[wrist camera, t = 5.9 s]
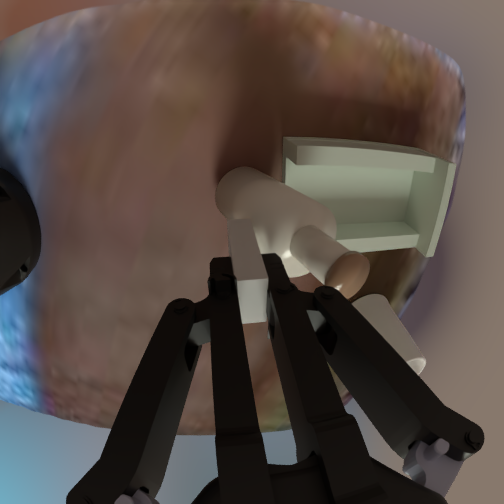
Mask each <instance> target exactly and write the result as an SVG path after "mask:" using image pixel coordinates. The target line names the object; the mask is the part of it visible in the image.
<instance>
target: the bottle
mask: <svg viewBox="0 0 504 504" xmlns="http://www.w3.org/2000/svg"><path fill="white" fill-rule="evenodd" d="M215 200H216V205H217V207H218V209H219V211H220V212H221V213H222V215H223V216H224V217H225V218H226V219H227V220H232V219H250V220H251V223H252V226H253V229H254V233H255V236H256V239H257V242H258V246H259V249H260V252H261V254H266V253H276V254H277V255H278V256H279V257H281V260H282V262H283V265H284V268H285V270H286V272H287V275H288V277H299V276H302V275H305V274H307V273H309V272H311V273H312V274H313V275H314V276H315V277H316V278H317V279H318V280H319V281H320V282H322V283H323V284H324V286H331V287H334V288H336V289H337V290H338V291H339V292H340V293H341V294H342V295H343V296H344V297H345V298H346V299H349V298H350V297H352V296H353V295H354V294H356V293H357V292H358V291H359V290H360V288H361V287H362V286H363V284H364V283H365V281H366V279H367V277H368V274H369V271H370V262H369V260H368V259H367V258H366V257H365V256H363V255H362V254H361V253H359V252H358V251H350V250H349V249H347V248H346V247H345V246H343V245H342V244H340V243H339V242H338V241H336V240H335V238H336V232H337V225H336V220H335V217H334V215H333V213H332V212H331V211H330V210H329V209H328V208H327V207H326V206H324V205H322V204H320V203H319V202H317V201H315V200H313V199H311V198H310V197H308V196H306V195H304V194H302V193H300V192H299V191H297V190H295V189H293V188H291V187H289V186H287V185H285V184H284V183H282V182H280V181H278V180H276V179H274V178H272V177H270V176H268V175H266V174H264V173H262V172H260V171H258V170H256V169H254V168H251V167H238V168H235V169H233V170H231V171H229V172H228V173H227V174H226V175H224V177H223V178H222V179H221V180H220V182H219V184H218V186H217V189H216V194H215Z"/></svg>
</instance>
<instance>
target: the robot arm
mask: <svg viewBox="0 0 504 504" xmlns="http://www.w3.org/2000/svg"><path fill="white" fill-rule="evenodd" d="M227 226H228V247H229V257H217V258H213V259H212V261H211V262H210V277H209V278H208V289H209V295H208V297H206V298H205V299H204V300H202V301H200V302H197V303H193V302H192V301H191V300H189V299H185V298H179V299H176V300H173V301H172V302H170V303H169V304H168V306H167V307H166V309H165V311H164V313H163V315H162V317H161V319H160V321H159V323H158V325H157V328H156V330H155V332H154V334H153V336H152V338H151V340H150V342H149V344H148V346H147V349H146V351H145V353H144V355H143V357H142V359H141V362H140V364H139V366H138V368H137V370H136V373H135V375H134V377H133V379H132V382H131V384H130V386H129V388H128V391H127V393H126V395H125V398H124V400H123V402H122V405H121V407H120V409H119V412H118V414H117V417H116V419H115V421H114V424H113V426H112V429H111V431H110V434H109V436H108V439H107V442H106V444H105V447H104V449H103V452H102V454H101V457H100V459H99V460H98V461H97V462H96V464H95V465H94V466H93V467H92V468H91V469H90V470H89V471H88V472H87V473H86V474H85V475H84V477H83V478H82V479H81V480H80V481H79V482H78V483H77V484H76V485H75V486H74V487H73V488H72V490H71V491H70V492H69V493H68V495H67V498H66V504H159V502H158V501H157V500H155V499H154V498H155V497H156V495H157V493H158V491H159V489H160V487H161V484H162V482H163V479H164V476H165V472H166V468H167V465H168V460H169V457H170V454H171V450H172V447H173V443H174V440H175V436H176V433H177V429H178V426H179V422H180V419H181V415H182V412H183V408H184V405H185V401H186V398H187V395H188V391H189V388H190V385H191V381H192V378H193V375H194V371H195V368H196V365H197V361H198V358H199V355H200V351H201V348H202V344H205V343H208V342H211V363H212V383H213V399H214V414H215V427H216V436H215V445H216V457H217V467H218V477H217V478H215V479H214V480H212V481H211V482H209V483H208V484H207V485H206V486H205V487H204V488H203V490H202V491H201V492H200V493H199V495H198V496H197V497H196V498H195V500H194V501H193V502H192V503H191V504H448V503H447V501H446V500H445V498H444V497H445V495H446V494H447V492H448V490H449V488H450V486H451V485H452V483H453V481H454V479H455V477H456V476H457V474H458V472H459V470H460V468H461V466H462V464H463V462H464V461H465V460H466V459H467V458H469V457H470V456H472V455H473V454H475V453H476V452H477V451H479V450H480V449H481V447H482V445H483V443H484V433H483V431H482V429H481V427H479V426H478V425H477V424H475V423H474V422H472V421H470V420H469V419H467V418H465V417H463V416H462V415H460V414H458V413H457V412H455V411H453V410H451V409H450V408H448V407H446V406H445V405H444V404H443V403H442V402H441V401H440V400H439V399H438V397H437V396H436V395H435V394H434V393H433V392H432V391H431V390H430V388H429V387H428V386H427V385H426V384H425V383H424V381H423V380H422V379H421V378H420V377H419V376H418V375H417V374H416V372H415V371H414V370H413V369H412V368H411V367H410V366H409V365H408V364H407V362H406V361H405V360H404V359H403V358H402V357H401V356H400V355H399V354H398V353H397V352H396V350H395V349H394V348H393V347H392V346H391V345H390V344H389V343H388V342H387V341H386V340H385V339H384V338H383V336H382V335H381V334H380V333H379V332H378V331H377V330H376V329H375V328H374V327H373V326H372V325H371V324H370V323H369V322H368V321H367V319H366V318H365V317H364V316H363V315H362V314H361V313H360V312H359V311H358V310H357V309H356V308H355V307H354V306H353V305H352V304H351V303H350V302H349V301H348V300H347V299H346V298H345V297H344V296H343V295H342V294H341V293H340V292H339V291H338V290H337V289H336V288H334V287H331V286H320V287H318V288H316V289H315V291H314V293H309V292H303V291H300V290H298V289H297V287H296V286H295V285H294V284H293V283H291V282H290V280H289V277H288V275H287V272H286V270H285V268H284V265H283V262H282V260H281V257H279V256H278V255H277V254H276V253H266V254H261V252H260V249H259V246H258V242H257V239H256V236H255V233H254V229H253V226H252V223H251V220H250V219H232V220H227ZM40 251H41V233H40V226H39V222H38V218H37V215H36V212H35V209H34V207H33V204H32V202H31V200H30V198H29V196H28V194H27V193H26V191H25V189H24V188H23V187H22V185H21V184H20V183H19V181H18V180H17V179H16V178H15V177H14V176H13V175H12V174H10V173H9V172H8V171H6V170H4V169H2V168H0V296H1V295H2V294H4V293H5V292H7V291H9V290H10V289H12V288H13V287H15V286H17V285H18V284H20V283H22V282H23V281H24V280H25V279H26V278H27V277H28V275H29V274H30V273H31V271H32V270H33V269H34V267H35V266H36V264H37V262H38V259H39V256H40ZM267 317H268V339H271V343H272V347H273V351H274V356H275V360H276V364H277V368H278V372H279V376H280V381H281V385H282V389H283V393H284V397H285V401H286V406H287V410H288V414H289V418H290V422H291V426H292V430H293V435H294V438H295V443H296V449H297V450H296V454H297V455H296V456H297V462H298V463H296V464H293V465H275V464H267V459H266V454H265V449H264V443H263V438H262V434H261V432H260V429H259V424H258V418H257V412H256V406H255V400H254V394H253V388H252V382H251V376H250V370H249V364H248V358H247V352H246V345H245V339H244V332H243V326H242V324H244V323H255V322H266V321H267ZM327 362H328V363H329V365H330V366H331V368H332V369H333V370H334V372H335V373H336V374H337V376H338V377H339V378H340V380H341V381H342V383H343V384H344V385H345V387H346V388H347V389H348V391H349V392H350V394H351V395H352V396H353V398H354V399H355V400H356V402H357V403H358V404H359V406H360V407H361V409H362V410H363V411H364V413H365V414H366V415H367V417H368V418H369V419H370V421H371V422H372V424H373V425H374V426H375V428H376V429H377V430H378V432H379V433H380V434H381V436H382V437H383V438H384V440H385V441H386V442H387V443H388V445H389V446H390V447H391V448H392V450H394V451H395V452H396V453H397V454H398V455H399V456H400V457H401V458H403V459H404V465H403V472H404V473H405V474H409V475H410V477H411V478H412V480H411V479H409V478H407V477H405V476H403V475H401V474H400V473H398V472H396V471H394V470H392V469H391V468H389V467H387V466H385V465H384V464H382V463H380V462H379V461H377V460H375V459H374V458H372V457H370V456H369V453H368V450H367V448H366V445H365V442H364V439H363V437H362V434H361V431H360V429H359V426H358V423H357V421H356V419H355V417H354V416H353V415H351V414H348V413H347V412H346V411H345V409H344V406H343V403H342V400H341V398H340V395H339V392H338V390H337V387H336V384H335V382H334V379H333V377H332V374H331V371H330V369H329V366H328V364H327Z"/></svg>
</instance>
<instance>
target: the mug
mask: <svg viewBox="0 0 504 504" xmlns="http://www.w3.org/2000/svg"><path fill="white" fill-rule="evenodd" d="M352 305H353V306H354V307H355V308H356V309H357V310H358V311H359V312H360V313H361V314H362V315H363V316H364V317H365V318H366V319H367V321H368V322H369V323H370V324H371V325H372V326H373V327H374V328H375V329H376V330H377V331H378V332H379V333H380V334H381V335H382V336H383V338H384V339H385V340H386V341H387V342H388V343H389V344H390V345H391V346H392V347H393V348H394V349H395V350H396V352H397V353H398V354H399V355H400V356H401V357H402V358H403V359H404V360H405V361H406V362H407V364H408V365H409V366H410V367H411V368H412V369H413V370H414V371H415V372H416V374H417V375H419V374H420V373H421V371H422V370H423V369H424V367H425V365H426V359H425V357H424V356H423V354H422V353H421V351H420V350H419V348H418V346H417V345H416V343H415V342H414V340H413V339H412V337H411V336H410V334H409V333H408V332H407V330H406V328H405V327H404V326H403V324H402V323H401V321H400V320H399V318H398V317H397V315H396V314H395V312H394V311H393V310H392V308H391V307H390V305H389V302H388V300H387V298H386V297H384V296H383V295H380V294H370V295H366V296H363V297H361V298H359V299H357V300H356V301H354V302H353V303H352Z"/></svg>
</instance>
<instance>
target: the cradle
mask: <svg viewBox="0 0 504 504" xmlns="http://www.w3.org/2000/svg"><path fill="white" fill-rule="evenodd" d="M455 169H456V164H455V163H453V162H451V161H448V160H446V159H444V158H441V157H439V156H437V155H434V154H432V153H429V152H427V151H424V150H422V149H419V148H415V147H409V146H402V145H395V144H388V143H379V142H370V141H360V140H349V139H335V138H317V137H283V165H282V183H284V184H285V185H287V186H289V187H291V188H293V189H295V190H297V191H299V192H300V193H302V194H304V195H306V196H308V197H310V198H311V199H313V200H315V201H317V202H319V203H320V204H322V205H324V206H326V207H327V208H328V209H329V210H330V211H331V212H332V213H333V215H334V217H335V220H336V225H337V232H336V238H335V240H336V241H338V242H339V243H340V244H342V245H343V246H345V247H346V248H347V249H349V250H350V251H358V252H359V253H360V252H371V251H381V250H391V249H401V248H411V247H415V248H416V249H417V250H418V251H420V252H421V253H422V254H423V255H424V256H425V257H431V256H433V255H434V252H435V248H436V245H437V242H438V239H439V236H440V232H441V229H442V225H443V222H444V218H445V214H446V210H447V206H448V202H449V198H450V194H451V189H452V184H453V179H454V174H455Z"/></svg>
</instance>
